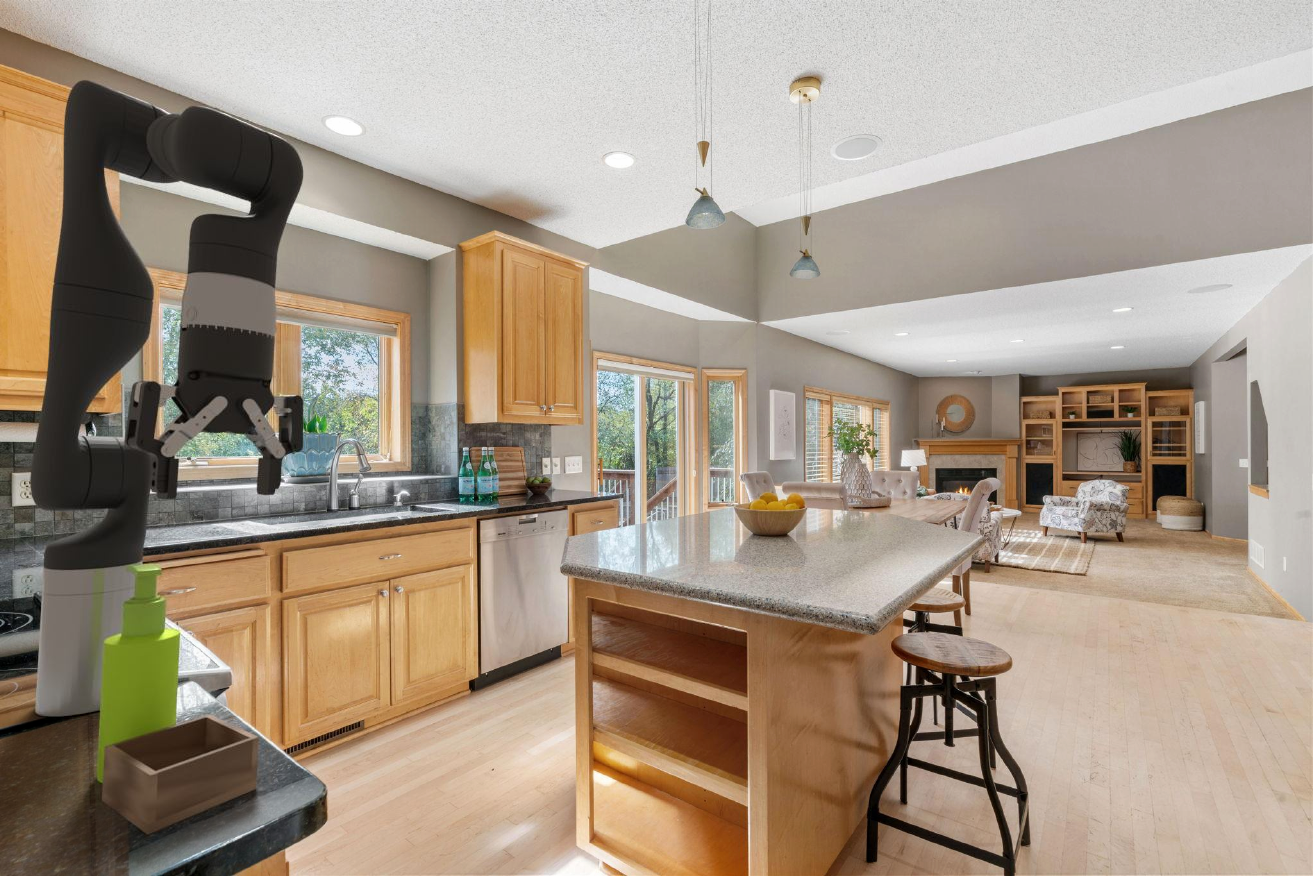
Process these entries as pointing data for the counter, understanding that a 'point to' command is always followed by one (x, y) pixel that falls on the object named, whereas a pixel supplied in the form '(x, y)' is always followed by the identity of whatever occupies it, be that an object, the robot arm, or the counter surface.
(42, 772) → the counter surface
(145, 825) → the walnut caddy
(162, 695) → the soap dispenser
